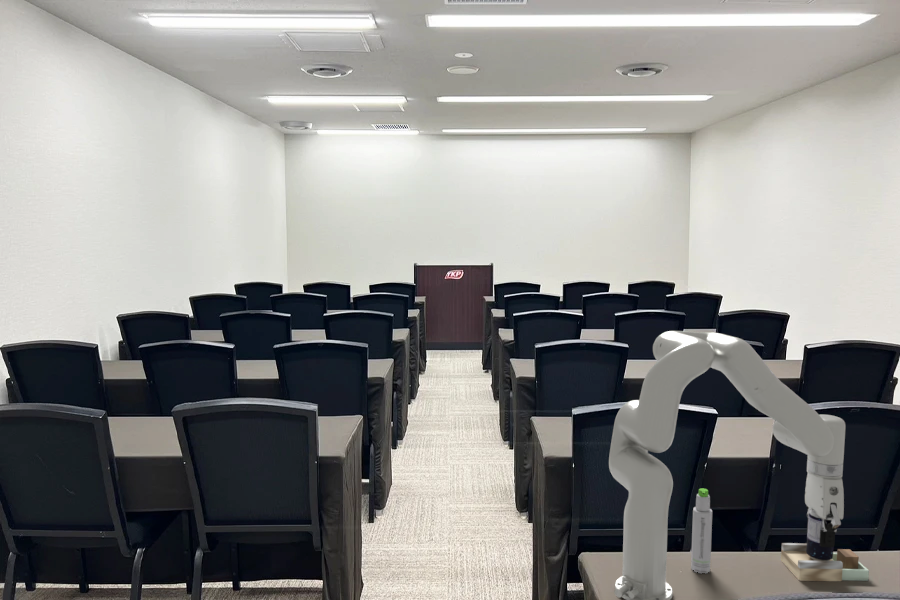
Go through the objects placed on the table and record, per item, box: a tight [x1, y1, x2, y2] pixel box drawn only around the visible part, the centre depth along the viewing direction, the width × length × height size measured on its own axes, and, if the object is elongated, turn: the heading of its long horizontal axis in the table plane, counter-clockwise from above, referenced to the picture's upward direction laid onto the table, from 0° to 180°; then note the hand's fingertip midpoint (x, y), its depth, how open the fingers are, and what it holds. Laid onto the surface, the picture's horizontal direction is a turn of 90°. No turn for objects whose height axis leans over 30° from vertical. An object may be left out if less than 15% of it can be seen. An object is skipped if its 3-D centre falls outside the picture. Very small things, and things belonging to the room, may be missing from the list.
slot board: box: [780, 542, 843, 582], centre depth 170 cm, size 10×10×4 cm
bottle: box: [690, 488, 713, 574], centre depth 170 cm, size 4×4×20 cm
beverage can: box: [806, 508, 834, 561], centre depth 169 cm, size 6×6×12 cm
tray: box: [832, 552, 870, 582], centre depth 170 cm, size 6×9×2 cm
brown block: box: [836, 548, 860, 569], centre depth 170 cm, size 4×4×3 cm
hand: (820, 539), depth 170 cm, fingers closed on beverage can, 5 cm apart
